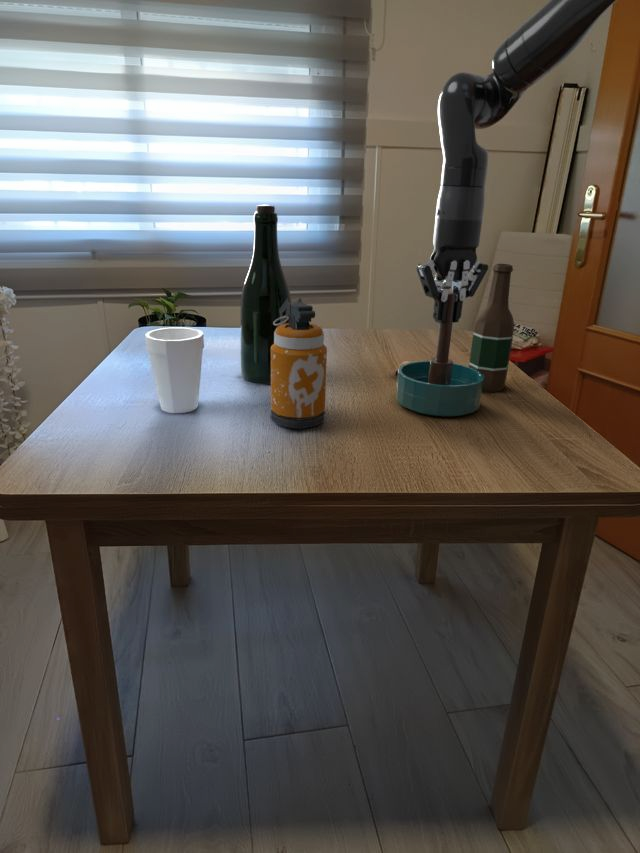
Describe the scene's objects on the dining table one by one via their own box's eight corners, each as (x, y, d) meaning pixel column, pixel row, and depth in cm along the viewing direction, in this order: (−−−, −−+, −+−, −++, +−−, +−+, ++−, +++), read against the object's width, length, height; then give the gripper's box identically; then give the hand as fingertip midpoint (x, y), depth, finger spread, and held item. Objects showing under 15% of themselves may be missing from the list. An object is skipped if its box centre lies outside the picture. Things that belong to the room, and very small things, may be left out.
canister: (280, 434, 91) (281, 308, 83) (260, 410, 100) (259, 294, 92) (332, 427, 94) (337, 305, 86) (308, 405, 103) (311, 292, 96)
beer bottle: (470, 391, 113) (487, 266, 104) (462, 379, 120) (478, 261, 111) (509, 393, 113) (530, 267, 103) (499, 381, 120) (518, 262, 111)
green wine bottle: (302, 376, 119) (305, 205, 106) (269, 388, 111) (268, 206, 98) (264, 366, 125) (263, 203, 112) (230, 377, 117) (224, 203, 104)
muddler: (454, 381, 105) (465, 293, 99) (444, 386, 102) (455, 296, 96) (434, 376, 107) (444, 290, 101) (424, 382, 104) (433, 292, 98)
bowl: (491, 402, 108) (496, 371, 105) (457, 426, 96) (462, 392, 94) (419, 385, 116) (422, 356, 114) (380, 404, 105) (382, 373, 102)
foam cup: (207, 397, 106) (204, 327, 101) (206, 415, 97) (202, 340, 92) (154, 398, 104) (148, 327, 99) (148, 417, 96) (141, 341, 91)
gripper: (436, 217, 88) (424, 329, 94) (508, 218, 93) (492, 324, 100) (410, 215, 94) (401, 319, 101) (479, 215, 99) (466, 315, 106)
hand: (446, 321), depth 100 cm, fingers closed on muddler, 2 cm apart
